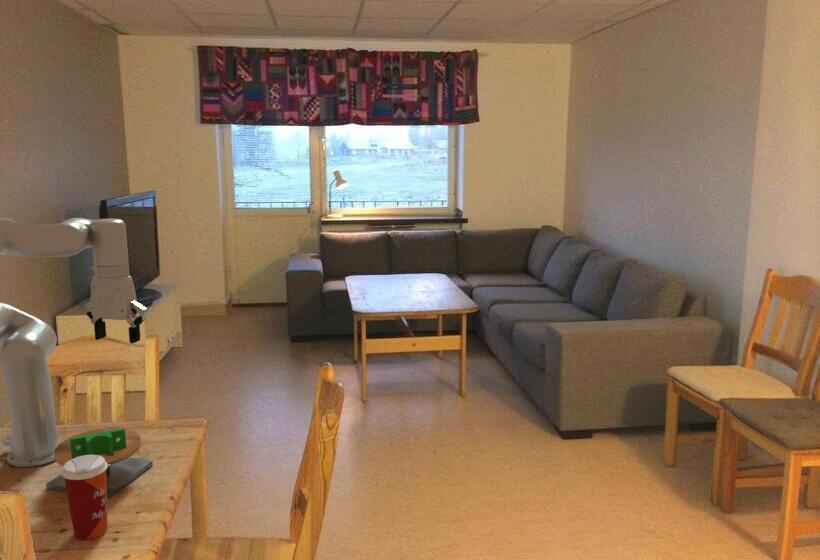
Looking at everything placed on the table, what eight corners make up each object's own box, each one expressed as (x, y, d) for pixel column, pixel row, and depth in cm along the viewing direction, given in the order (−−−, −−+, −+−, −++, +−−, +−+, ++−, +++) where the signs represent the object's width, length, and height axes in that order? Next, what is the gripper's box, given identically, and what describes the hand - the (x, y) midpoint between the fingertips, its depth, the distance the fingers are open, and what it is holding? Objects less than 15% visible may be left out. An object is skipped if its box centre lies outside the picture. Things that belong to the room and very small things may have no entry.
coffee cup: (112, 539, 137) (105, 469, 134) (65, 547, 134) (58, 475, 131) (114, 517, 145) (108, 450, 141) (70, 524, 142) (63, 456, 139)
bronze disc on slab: (39, 490, 155) (34, 450, 153) (94, 454, 172) (91, 418, 170) (108, 502, 150) (105, 461, 148) (158, 464, 167) (156, 427, 165)
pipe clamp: (73, 464, 150) (70, 444, 149) (71, 457, 154) (69, 437, 152) (128, 452, 156) (126, 433, 155) (125, 446, 159) (124, 427, 158)
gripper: (70, 271, 165) (76, 341, 168) (133, 276, 160) (138, 348, 164) (92, 265, 172) (98, 332, 175) (153, 270, 167) (158, 338, 171)
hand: (117, 340), depth 170 cm, fingers open, 9 cm apart
